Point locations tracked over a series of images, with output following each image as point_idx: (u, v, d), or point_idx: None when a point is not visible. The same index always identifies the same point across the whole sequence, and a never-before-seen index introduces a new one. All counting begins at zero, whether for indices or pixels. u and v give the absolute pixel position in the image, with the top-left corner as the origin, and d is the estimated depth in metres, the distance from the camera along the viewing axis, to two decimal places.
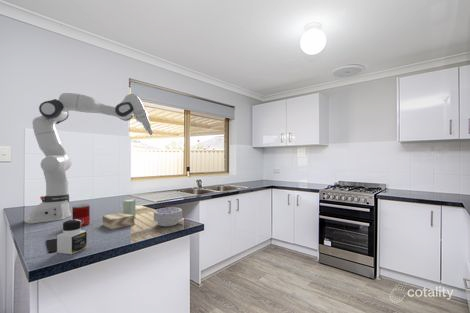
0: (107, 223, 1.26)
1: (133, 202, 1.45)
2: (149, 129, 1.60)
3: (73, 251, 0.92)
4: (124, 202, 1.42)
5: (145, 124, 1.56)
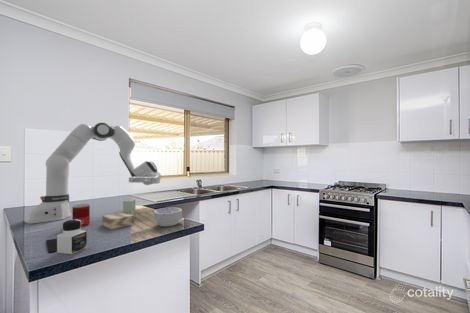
0: (107, 223, 1.26)
1: (133, 202, 1.45)
2: (149, 180, 1.59)
3: (73, 251, 0.92)
4: (124, 202, 1.42)
5: (157, 178, 1.62)
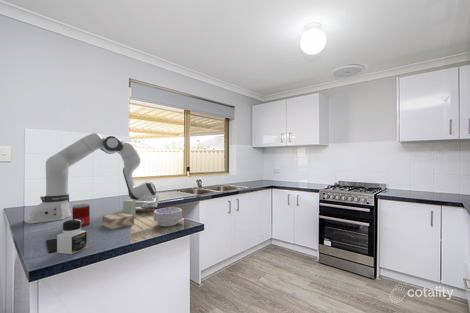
0: (107, 223, 1.26)
1: (133, 202, 1.45)
2: (146, 205, 1.55)
3: (73, 251, 0.92)
4: (124, 202, 1.42)
5: (154, 202, 1.58)
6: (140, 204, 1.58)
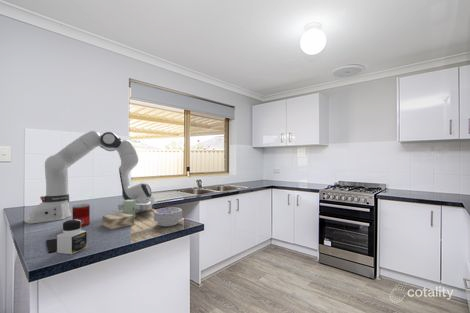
0: (107, 223, 1.26)
1: (133, 202, 1.45)
2: (138, 207, 1.46)
3: (73, 251, 0.92)
4: (124, 202, 1.42)
5: (149, 205, 1.49)
6: None
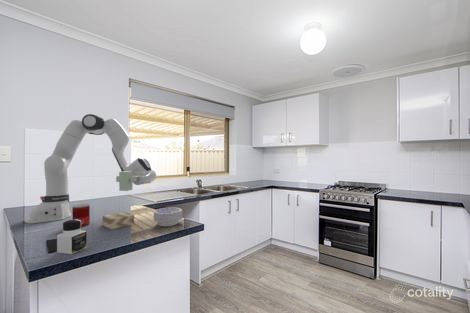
0: (107, 223, 1.26)
1: (129, 173, 1.39)
2: (134, 179, 1.40)
3: (73, 251, 0.92)
4: (120, 173, 1.37)
5: (146, 177, 1.42)
6: None
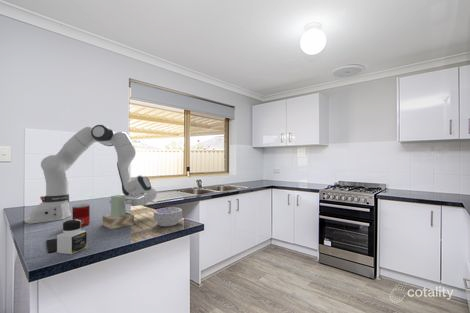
0: (107, 223, 1.26)
1: (122, 198, 1.31)
2: (129, 202, 1.31)
3: (73, 251, 0.92)
4: (112, 197, 1.29)
5: (139, 199, 1.33)
6: (125, 200, 1.35)
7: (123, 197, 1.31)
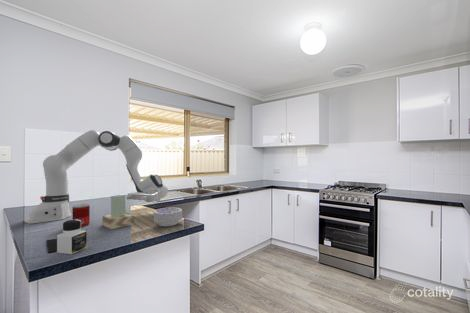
0: (107, 223, 1.26)
1: (121, 198, 1.31)
2: (145, 198, 1.42)
3: (73, 251, 0.92)
4: (112, 197, 1.29)
5: (154, 196, 1.44)
6: (140, 197, 1.47)
7: (123, 197, 1.32)
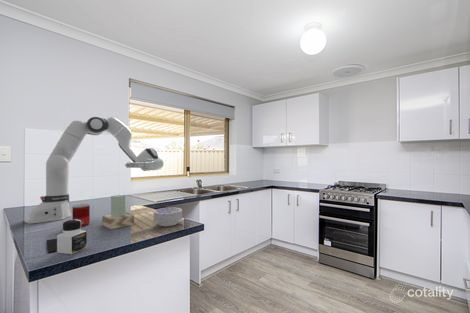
0: (107, 223, 1.26)
1: (121, 198, 1.31)
2: (142, 165, 1.57)
3: (73, 251, 0.92)
4: (112, 197, 1.29)
5: (150, 163, 1.59)
6: None
7: (123, 197, 1.32)
